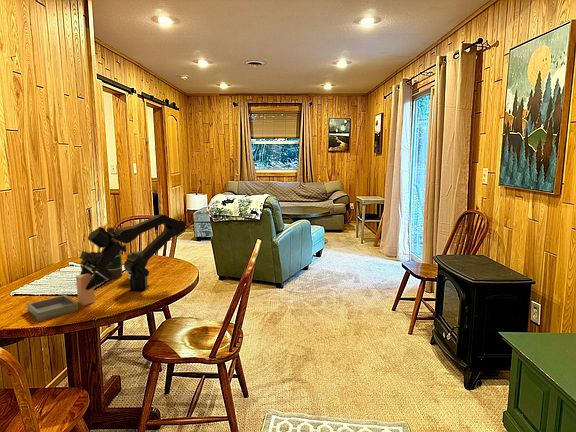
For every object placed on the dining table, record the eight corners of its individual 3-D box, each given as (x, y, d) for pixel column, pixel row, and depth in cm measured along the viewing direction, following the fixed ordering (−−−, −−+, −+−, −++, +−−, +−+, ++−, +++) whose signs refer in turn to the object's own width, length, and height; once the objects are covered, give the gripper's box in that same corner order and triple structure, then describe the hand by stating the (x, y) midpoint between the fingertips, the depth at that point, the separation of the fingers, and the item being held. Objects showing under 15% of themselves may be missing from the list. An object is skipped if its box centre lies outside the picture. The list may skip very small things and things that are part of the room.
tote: (65, 302, 158) (65, 294, 157) (78, 310, 149) (77, 303, 148) (27, 311, 148) (26, 303, 148) (38, 321, 139) (37, 313, 139)
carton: (90, 299, 160) (88, 273, 159) (94, 302, 157) (92, 275, 156) (78, 302, 157) (76, 275, 155) (82, 305, 154) (80, 278, 152)
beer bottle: (126, 275, 193) (123, 226, 189) (114, 280, 185) (110, 229, 182) (113, 274, 195) (110, 226, 191) (101, 278, 188) (97, 228, 184)
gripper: (83, 239, 163) (56, 271, 156) (102, 246, 150) (73, 281, 144) (104, 254, 170) (78, 285, 163) (124, 262, 157) (97, 296, 151)
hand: (81, 287), depth 155 cm, fingers open, 9 cm apart
